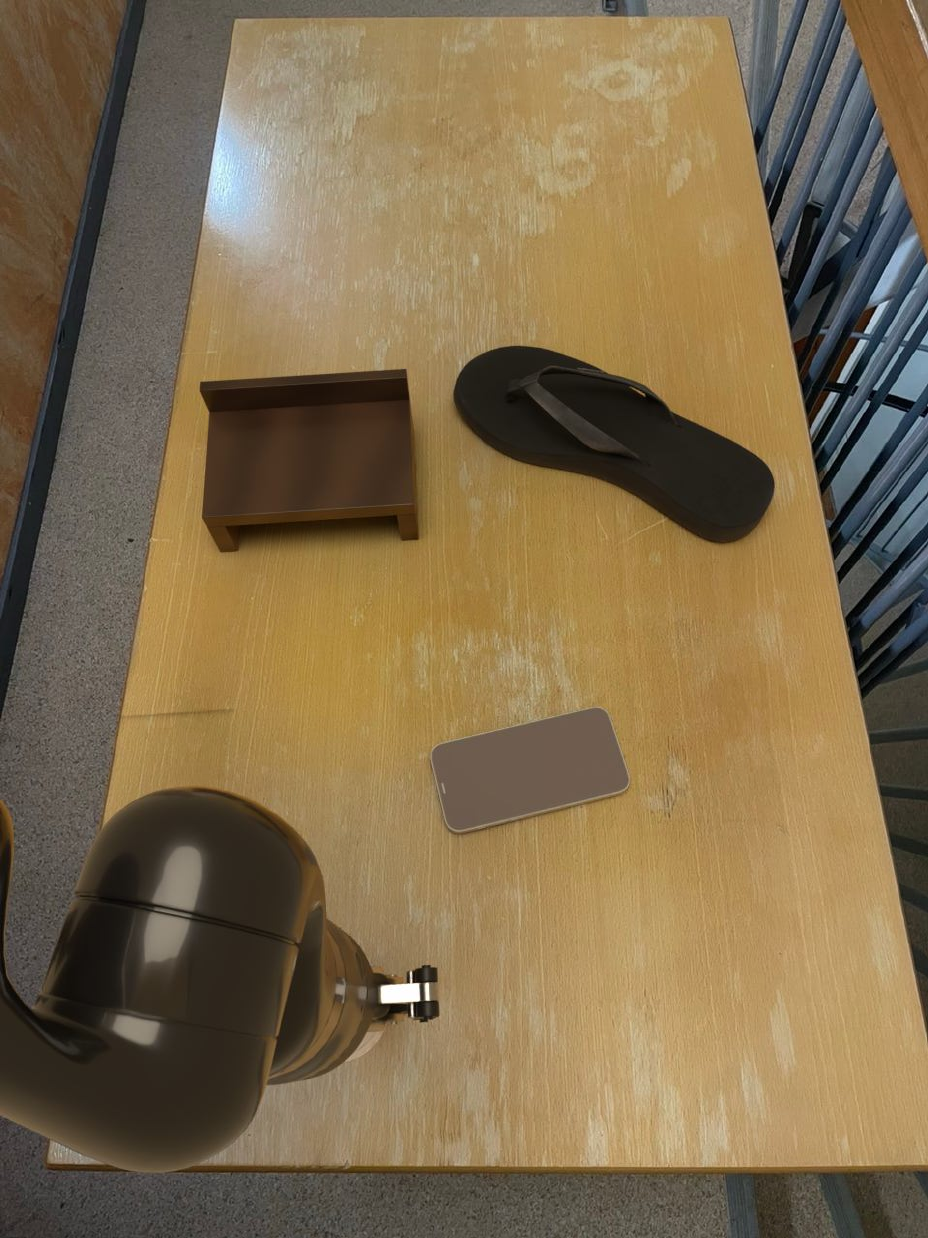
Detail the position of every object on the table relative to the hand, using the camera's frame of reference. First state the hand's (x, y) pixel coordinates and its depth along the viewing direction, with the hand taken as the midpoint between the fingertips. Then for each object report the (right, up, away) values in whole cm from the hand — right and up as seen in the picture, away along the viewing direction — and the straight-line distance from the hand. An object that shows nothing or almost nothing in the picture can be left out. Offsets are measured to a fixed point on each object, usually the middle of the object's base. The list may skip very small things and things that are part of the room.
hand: (338, 1006), depth 58 cm
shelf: (-5, +36, +28) cm, 46 cm away
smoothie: (0, -4, +9) cm, 10 cm away
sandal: (+21, +40, +29) cm, 54 cm away
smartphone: (+13, +12, +16) cm, 24 cm away
